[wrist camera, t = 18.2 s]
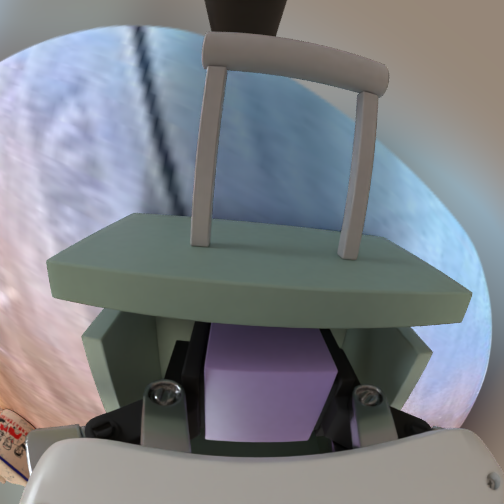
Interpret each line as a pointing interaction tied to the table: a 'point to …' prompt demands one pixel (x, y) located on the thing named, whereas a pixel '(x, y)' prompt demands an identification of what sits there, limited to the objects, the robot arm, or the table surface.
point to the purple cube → (265, 382)
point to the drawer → (258, 261)
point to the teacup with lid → (13, 448)
